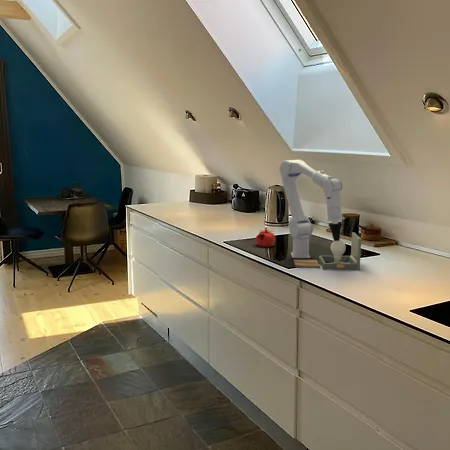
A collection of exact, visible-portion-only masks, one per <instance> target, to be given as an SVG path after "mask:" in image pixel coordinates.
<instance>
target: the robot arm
mask: <svg viewBox="0 0 450 450" xmlns="http://www.w3.org/2000/svg"><path fill="white" fill-rule="evenodd" d="M279 172H280V175H281V176H280V177H281V181H282V185H283V189H284V190H283V191H284V192H285V193H284V194H285V198H286V201H287V203H288V208H289V210H290V211H289V212H290V215H291V219H290V220H289V221H288V227H289V231H288V232H289V233H290V236H291V238H292V252H290V255H291V257H292V259H311V256H310V254H309V251H310V250H309V249H310V238H311V235H312V234H313V232H314V225H313V224H312V223H311V221H310V218H309V217H308V216H306V214H304V210H303V206H302V203H301V199H300V196H299V195H300V194H299V192H298V187H297V186H296V180H298V178H299V177H300V176H301V175H302V174H303V175H305V176H307V177H309V178H311V180H312V183H314V184H316V185H317V186H319V187H321V188H322V191H323V192H324V196H325V200H326V210H327V211H326V212H327V221H328V222H329V221H330V222H329V223H327V224H328V227H329V229H330V230H331V234H332V239H333V241H339V240H341V232H342V231H341V230H342V227H343V223H342V220H345V219H346V218H345V217H343V216H342V215H343V214H342V203H341V190H343V182H342V180H341V179H340V178H338V177H336V178H333V176H331V175H328V174H326V173H325V170H315V169H314V168H312V167H311V166H310V165H308V164H307V163H306V161H304V160H303V159H291V160H290V159H289V160H287V159H285V160H282V162H281V164H280V165H279Z"/></svg>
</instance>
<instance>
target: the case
mask: <svg viewBox="0 0 450 450" xmlns="http://www.w3.org/2000/svg"><path fill="white" fill-rule="evenodd" d="M350 245H351V247H350V248H351V250H350V255H342V258H341V263H334V255H318V263H319V265H320V267H321V268H322V270H332V271H333V270H335V271H337V270H341V271H346V270H347V271H360V270H361V255H362V238H361V237H360V236H359V235H358V234H356V232H351V244H350Z"/></svg>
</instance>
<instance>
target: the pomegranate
mask: <svg viewBox="0 0 450 450" xmlns="http://www.w3.org/2000/svg"><path fill="white" fill-rule="evenodd" d="M258 231H259V233H258V234H257V235H256V236H255V243H256V245H257V246H259V247H262V248H271V247H273V246H274V245H275V242H276V237H275V236H276V235H275V234H274V230H270V229H268V227H265V228H264V229H263V230H262V229H259V230H258Z"/></svg>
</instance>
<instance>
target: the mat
mask: <svg viewBox="0 0 450 450" xmlns="http://www.w3.org/2000/svg"><path fill="white" fill-rule="evenodd" d="M293 263H294V266H295V268H296V269H297V268H299V269H300V268H302V269H303V268H304V269H320V268H321V265H320V263H319V260H317V259H293Z"/></svg>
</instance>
